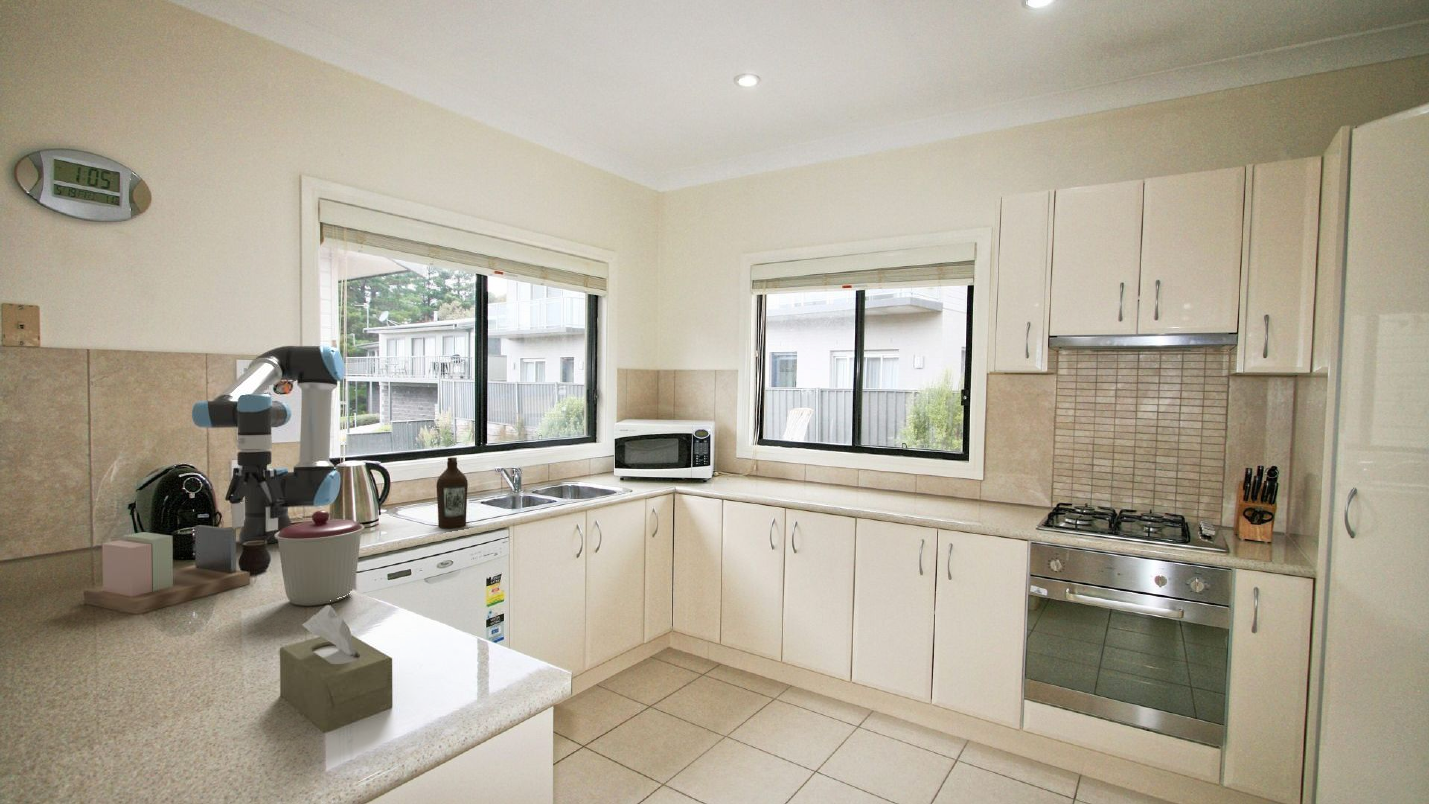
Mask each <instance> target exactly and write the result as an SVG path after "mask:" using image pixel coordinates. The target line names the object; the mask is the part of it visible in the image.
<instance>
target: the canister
mask: <svg viewBox="0 0 1429 804" xmlns="http://www.w3.org/2000/svg"><path fill="white" fill-rule="evenodd" d="M311 519H312V520H308V521H307V520H306V521H302V522H298V523H294V524H292V525H290V526H287V527H285V528H283V529H282V530H281V531H279V532H277V533H276V534H275V535H274V537H275V538H276V539H278V542H277V543H278V551H279V559H280V566H281V572H282V573H281V574H282V580H283V584H284V590H285V595H286V597H287V599H288V600H289V602H291V604H293V605H297V606H302V607H305V606H306V607H311V606H321V605H329V604H331V603H335V602H338V601H341V600H343V599H346V598H347V597H348V596H349V595H350V594H351V593H350V591H352V592H353V590H354V588H355V585H356V578H357V571H358V566H359V565H358V564H359V556H360V555H359V554H360V547H361V538H362V531H364V529H365V526H364V525H363V524H362V523H359V522H357V521H355V520H353V519H352V520H351V519H343V518H331V519H330V513H329V512H328V511H326V510H317V511H315V512H313V513H312V515H311ZM349 593H350V594H349ZM347 594H348V595H347ZM345 595H346V596H345ZM343 596H345V597H343ZM339 597H342V598H339ZM337 598H339V599H337ZM330 600H331V601H330Z"/></svg>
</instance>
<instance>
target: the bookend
mask: <svg viewBox="0 0 1429 804" xmlns="http://www.w3.org/2000/svg"><path fill="white" fill-rule="evenodd" d="M194 531H195V532H194V533H195V534H194V537H195V539H194V540H195V541H194V543H195V544H194V546H195V547H194V548H195V549H194V550H195V551H194V552H195V565H196V568H199V569H206V570H212V571H218V572H224V573H230V574H232V573H236V570H237V528H236V529H235V528H227V527H220V526H211V525H202V524H200V525H195V526H194Z"/></svg>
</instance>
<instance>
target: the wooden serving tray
mask: <svg viewBox="0 0 1429 804" xmlns="http://www.w3.org/2000/svg"><path fill="white" fill-rule="evenodd" d="M250 584H251V574H250V572H246V571H241V570H240V569H238V570H237V569H236V573H232V574H230V573H224V572H218V571H212V570H206V569H199V568H196V564H194V565H190V566H186V567H181V568H176V569H173V587H169V588H165V589H161V590H157V591H152V592H149V593H145V594H141V595H137V596H133V597H131V596H126V595H121V594H116V593H111V592H106V591H103V585H102V586H97V587H93V588H88V589H85V590H83V604H85V605H90V606H96V607H99V608H104V609H109V610H113V611H117V612H122V613H123V612H124V613H128V614H134V615H140V614H143V613H147V612H151V611H155V610H159V609H163V608H166V607H171V606H174V605H177V604H181V603H184V602H188V601H192V600H195V599H196V600H197V599H199V598H203V597H206V596H210V595H211V596H212V595H214V594H217V593H221V592H222V593H223V592H224V591H230V590H232V589H236V588H240V587H243V586H247V585H250Z"/></svg>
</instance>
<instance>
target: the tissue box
mask: <svg viewBox="0 0 1429 804" xmlns="http://www.w3.org/2000/svg"><path fill="white" fill-rule="evenodd" d="M301 625H302V627H304V628H305V629H306V630H308V631H309V632H310V633H311V634H313V635H316V636H317V637H313V638H311V639H307V640H302V641H300V642H296V643H291V644H288V645H284V646H281V647H280V648H279V680H280V681H279V682H280V684H279V685H280V686H279V689H280V697H281V698H283V699H284V700H285V701H286V702H287V703H288V704H290V705H291V706H292V707H293V708H294V709H296V710H297V711H298V712H299V713H301V714H302V715H303V716H304V717H305V718H306V719H307V720H308V721H310V722H311V723H312V724H313V725H315V727H317V728H318V729H319V730H320V731H322V733H325V734H326V733H328V732H332V731H335V730H337V729H340V728H342V727H344V726H347V725H350V724H352V723H355V722H358V721H360V720H363V719H366V718H368V717H371V716H373V715H376V714H379V713H382V712H384V711H387V710H389V709H392V708H393V704H394V703H393V657H391V656H389V655H387V654H386V653H384V652H382V651H381V650H379V649H377V648H375V647H373V646H371V645H370V644H368V643H366V642H364V641H363V640H361V639H360V638H357V637H356V636H355V635H352V633H351V629H350V626H348V624H347V623H346V621H345V620H344V619H343V618H342V616H339V615H338V613H337V612H336V611H335V609H334V608H333V607H332V606H331V604H330V605H329V604H325V606H323V608H322V609H320V610H319V611H318V612H317V613H316V614H315V613H314V614H313V615H312V616H311V617H309V619H308V620H307V621H306V622H303V623H302V624H301Z"/></svg>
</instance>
